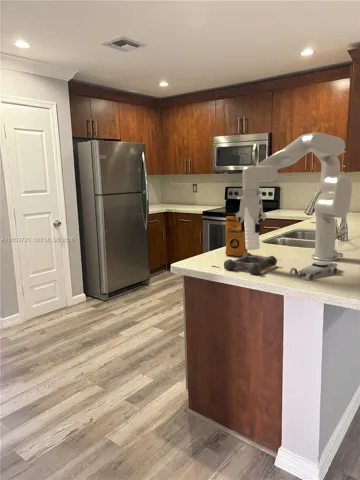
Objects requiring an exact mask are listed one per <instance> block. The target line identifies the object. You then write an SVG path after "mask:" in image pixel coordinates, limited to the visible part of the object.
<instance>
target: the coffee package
mask: <svg viewBox="0 0 360 480" xmlns="http://www.w3.org/2000/svg"><path fill="white" fill-rule="evenodd" d="M224 230H225V231H224V233H225V236H224V237H225V256H226V255H227V256H231V257H242V256H243V254H245V253H248V250H247V249H246V243H245V240H246V239H245V231H243V232H242V229H241V223H240V221H239V220H238V218H237V217H236V216H229V215H228V216H226V217H225V229H224Z"/></svg>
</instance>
